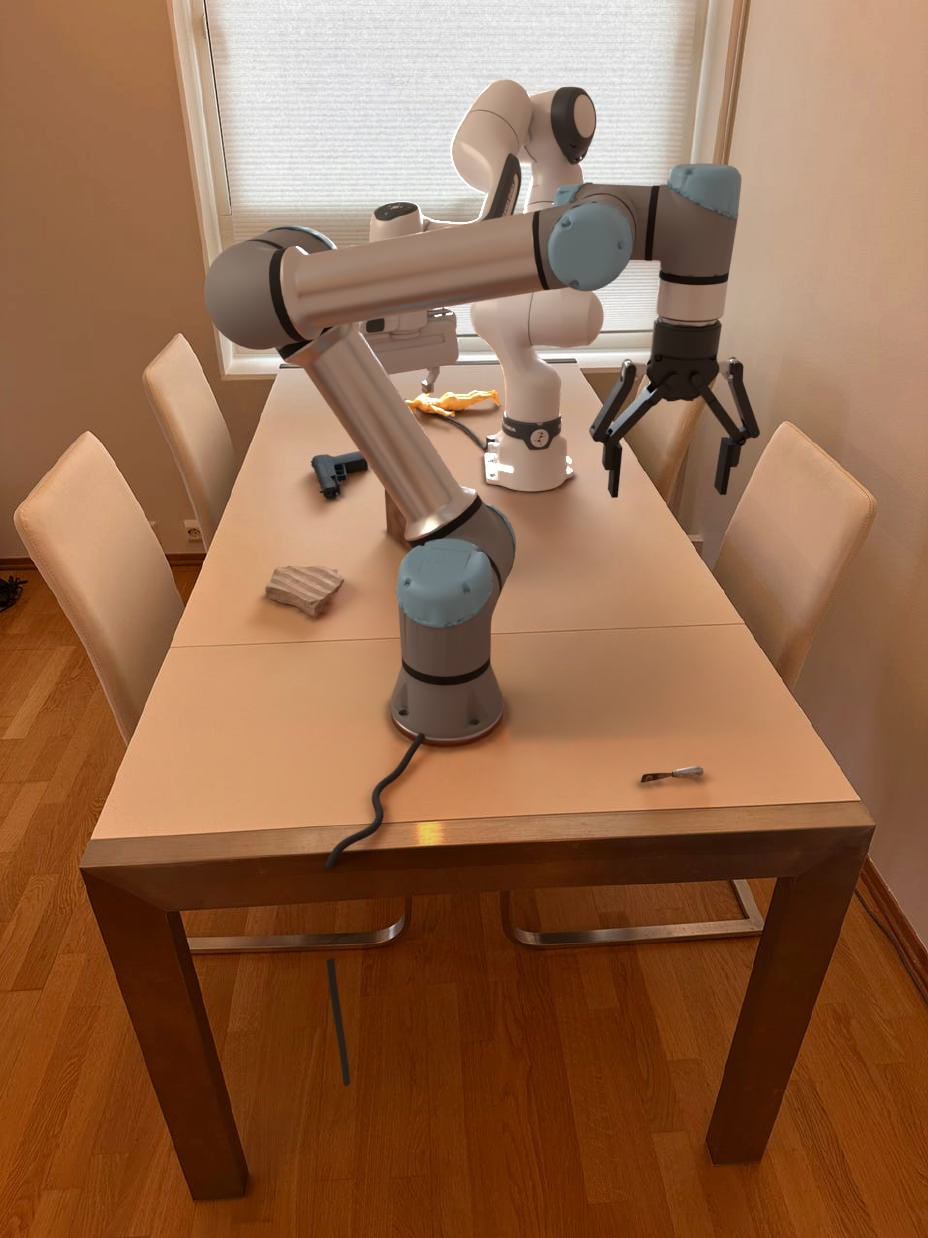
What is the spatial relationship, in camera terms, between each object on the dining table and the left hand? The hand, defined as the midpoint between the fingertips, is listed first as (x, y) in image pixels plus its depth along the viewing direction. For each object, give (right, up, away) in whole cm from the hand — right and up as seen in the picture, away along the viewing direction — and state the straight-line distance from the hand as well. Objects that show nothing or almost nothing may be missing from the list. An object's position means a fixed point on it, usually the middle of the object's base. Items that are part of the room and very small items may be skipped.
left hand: (666, 492), depth 112 cm
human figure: (-29, +37, +114) cm, 123 cm away
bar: (-32, -4, +48) cm, 58 cm away
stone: (-52, -12, +35) cm, 64 cm away
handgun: (-51, +13, +76) cm, 92 cm away
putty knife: (0, -36, -3) cm, 36 cm away
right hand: (-36, +22, +40) cm, 58 cm away
